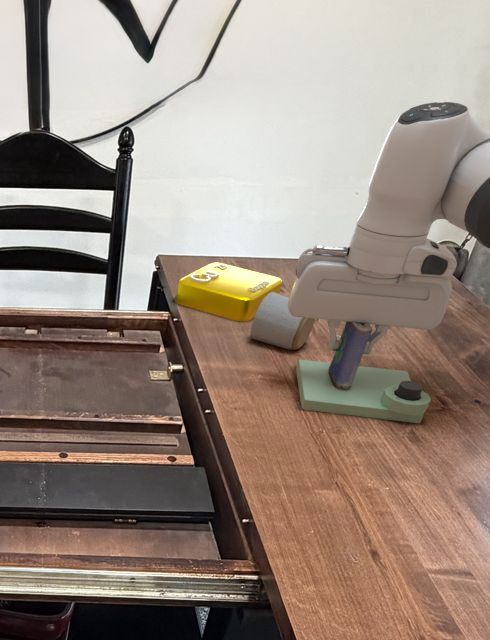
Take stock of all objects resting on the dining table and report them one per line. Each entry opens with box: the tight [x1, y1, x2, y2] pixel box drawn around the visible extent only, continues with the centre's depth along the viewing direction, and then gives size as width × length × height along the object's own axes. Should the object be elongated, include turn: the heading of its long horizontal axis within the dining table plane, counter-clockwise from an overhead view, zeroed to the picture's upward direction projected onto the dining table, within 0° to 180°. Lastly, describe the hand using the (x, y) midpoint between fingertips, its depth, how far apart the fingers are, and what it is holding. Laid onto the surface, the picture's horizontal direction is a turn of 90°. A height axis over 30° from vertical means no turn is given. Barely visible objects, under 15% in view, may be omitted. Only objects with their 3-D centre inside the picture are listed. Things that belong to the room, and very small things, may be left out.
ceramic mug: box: [250, 292, 316, 351], centre depth 118 cm, size 11×8×8 cm
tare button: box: [395, 380, 424, 401], centre depth 99 cm, size 3×3×2 cm
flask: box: [328, 322, 373, 390], centre depth 103 cm, size 9×3×11 cm, turn 164°
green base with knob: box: [295, 359, 432, 424], centre depth 105 cm, size 16×15×4 cm
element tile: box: [175, 261, 283, 322], centre depth 132 cm, size 15×15×5 cm
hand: (348, 351), depth 104 cm, fingers closed on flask, 3 cm apart
